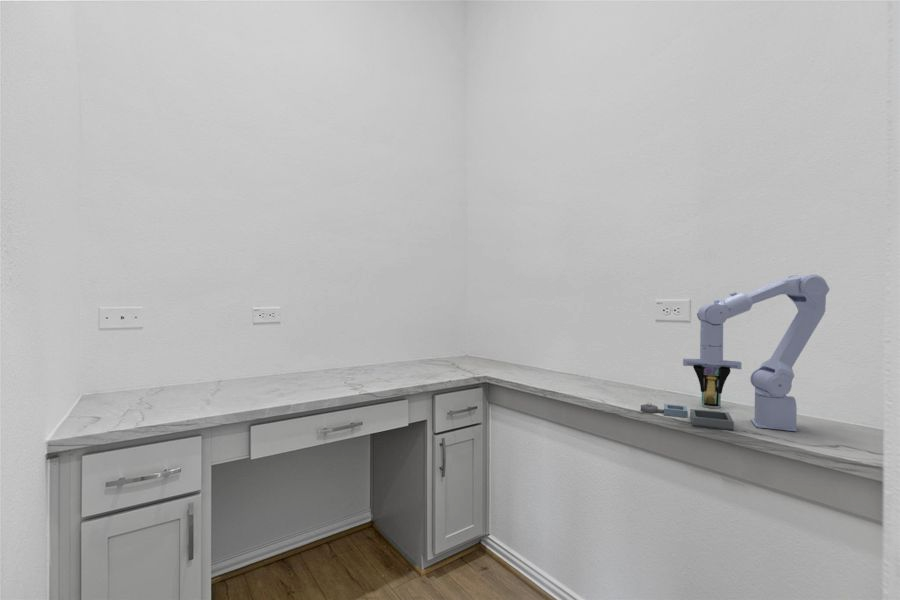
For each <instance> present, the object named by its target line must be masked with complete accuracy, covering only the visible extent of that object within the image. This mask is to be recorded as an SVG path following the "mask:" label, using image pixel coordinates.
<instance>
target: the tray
mask: <svg viewBox="0 0 900 600" xmlns="http://www.w3.org/2000/svg"><path fill="white" fill-rule="evenodd" d="M689 411H690V412H689V413H690V415H689V417H690V422H691V426H692V427H697V428H698V427H699V428H704V429H705V428H706V429H715V430H723V431H734V427H735V426H734V425H735V424H734V420H733V418H732V416H731V414H730V413H729V412H727V411H715V410H708V409H707V410H706V409H705V410H704V409H696V408H690V410H689Z"/></svg>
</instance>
